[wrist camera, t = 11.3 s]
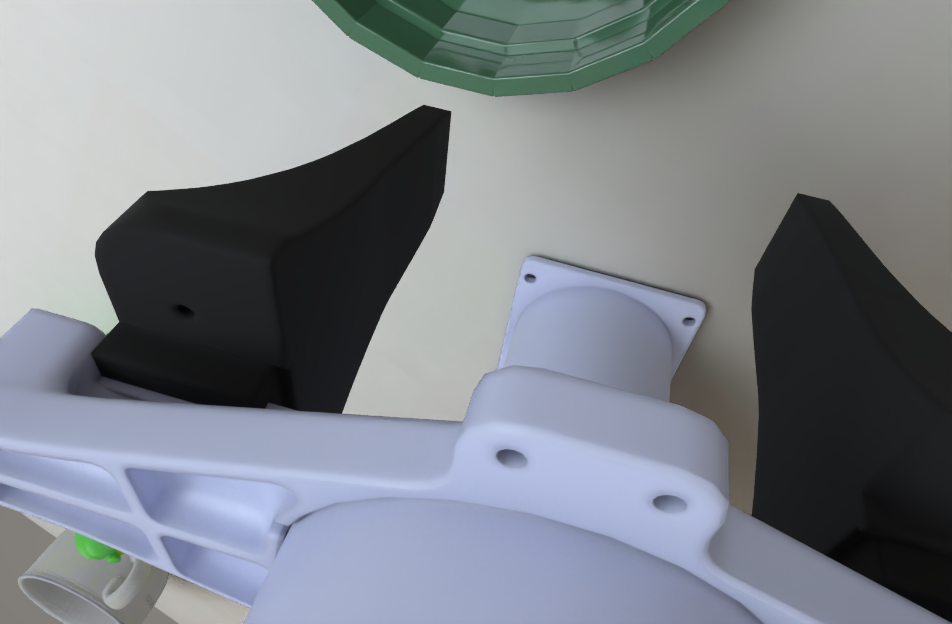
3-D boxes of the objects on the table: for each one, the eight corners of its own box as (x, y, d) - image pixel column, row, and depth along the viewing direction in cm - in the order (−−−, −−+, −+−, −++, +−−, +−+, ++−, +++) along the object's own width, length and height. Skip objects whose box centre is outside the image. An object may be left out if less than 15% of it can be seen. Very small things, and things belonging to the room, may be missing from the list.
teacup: (135, 563, 68) (83, 642, 62) (54, 502, 62) (-12, 582, 56) (228, 563, 61) (179, 651, 56) (147, 494, 56) (83, 584, 50)
